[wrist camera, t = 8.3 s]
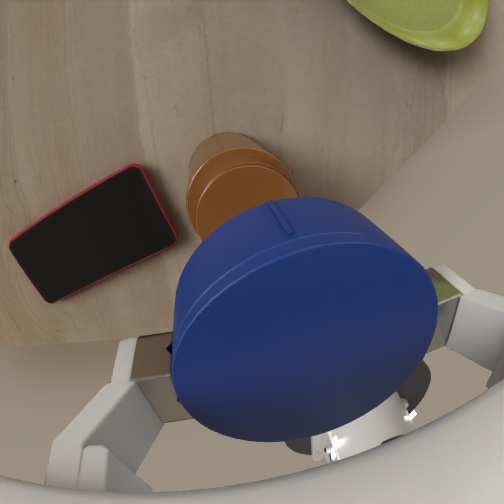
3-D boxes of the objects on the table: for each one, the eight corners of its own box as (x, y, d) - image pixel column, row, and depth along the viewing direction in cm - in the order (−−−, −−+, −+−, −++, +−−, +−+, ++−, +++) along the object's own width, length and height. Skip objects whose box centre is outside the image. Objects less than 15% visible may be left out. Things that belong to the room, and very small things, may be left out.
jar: (274, 195, 25) (318, 254, 16) (201, 216, 25) (207, 287, 16) (257, 123, 22) (298, 140, 14) (179, 145, 22) (167, 177, 13)
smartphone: (5, 244, 22) (138, 160, 21) (9, 239, 23) (140, 158, 22) (48, 306, 25) (181, 243, 25) (51, 301, 26) (182, 238, 25)
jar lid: (135, 237, 7) (113, 300, 5) (388, 167, 7) (452, 200, 5) (216, 399, 10) (224, 459, 8) (387, 344, 10) (420, 393, 8)
